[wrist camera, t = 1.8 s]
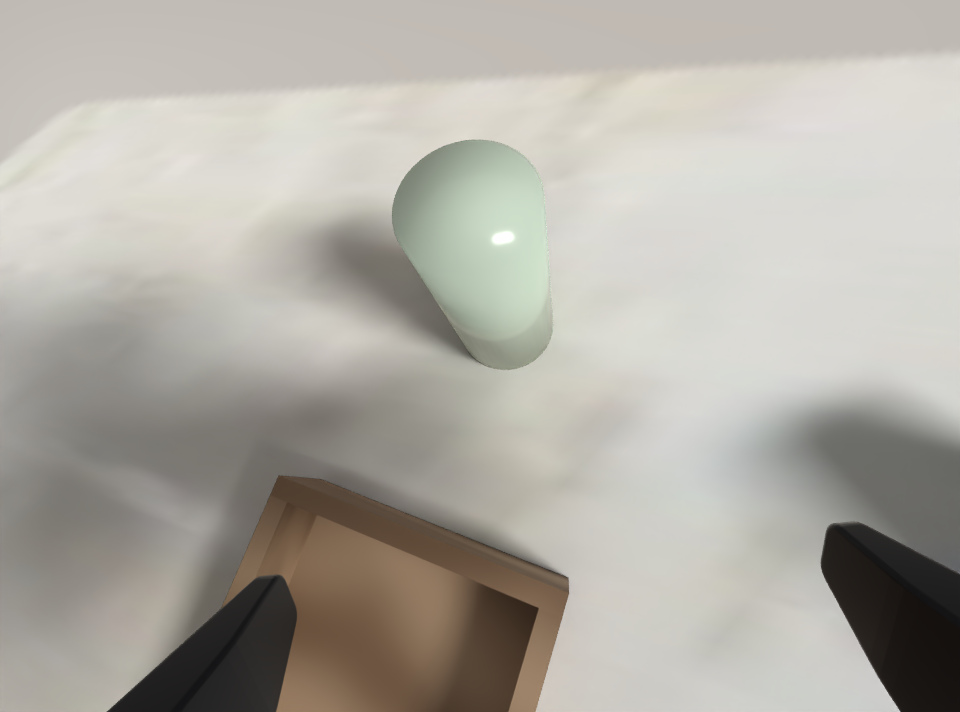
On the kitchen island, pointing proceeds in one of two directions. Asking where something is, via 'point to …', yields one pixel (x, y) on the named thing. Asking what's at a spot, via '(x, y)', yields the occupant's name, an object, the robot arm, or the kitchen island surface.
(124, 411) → the kitchen island surface
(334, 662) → the walnut tray
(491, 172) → the mint tapered capsule
